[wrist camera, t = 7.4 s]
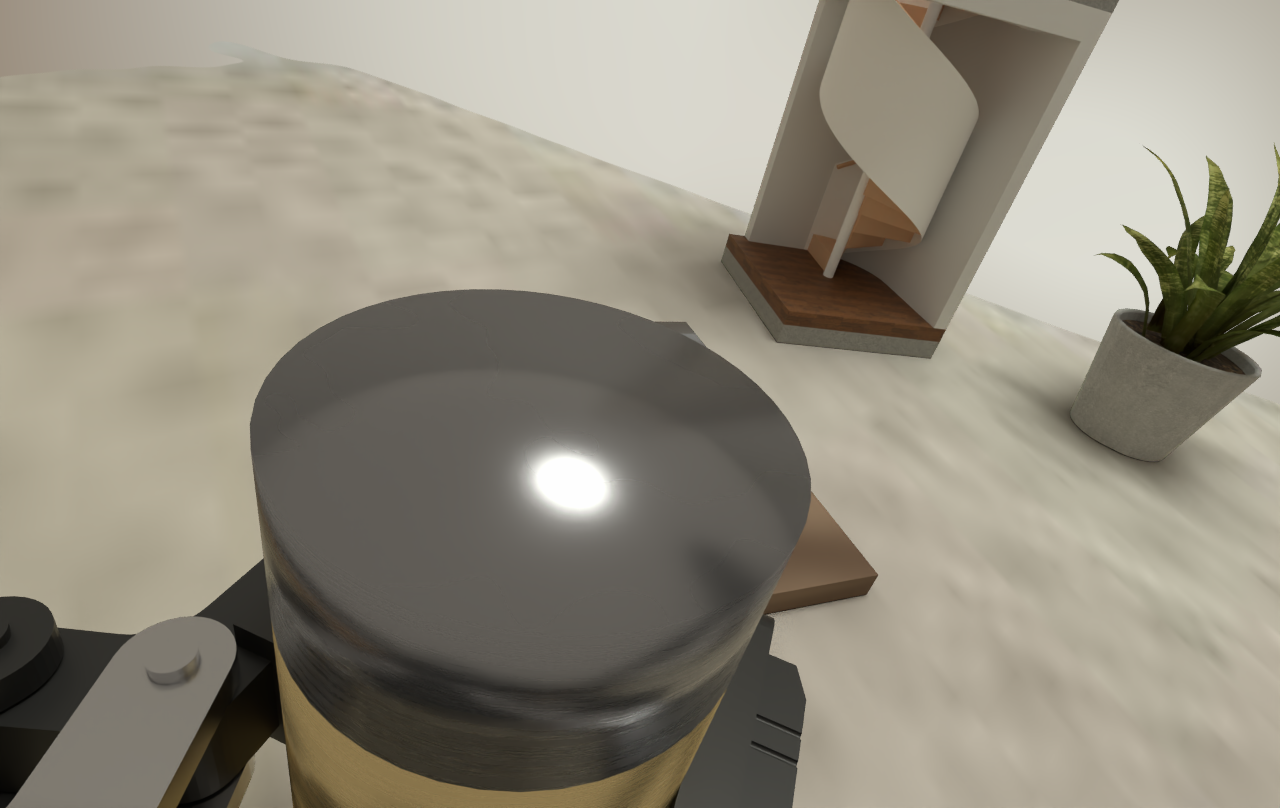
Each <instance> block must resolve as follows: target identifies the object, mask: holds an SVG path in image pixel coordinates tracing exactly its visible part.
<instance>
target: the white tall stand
mask: <svg viewBox="0 0 1280 808" xmlns="http://www.w3.org/2000/svg"><path fill="white" fill-rule="evenodd" d="M1118 1H1119V0H819V3H818V6H817V9H816V12H815V15H814V19H813V22H812V25H811V28H810V31H809V34H808V38H807V41H806V44H805V47H804V50H803V54H802V57H801V60H800V63H799V66H798V69H797V73H796V76H795V79H794V82H793V85H792V88H791V91H790V95H789V98H788V101H787V104H786V108H785V111H784V114H783V117H782V120H781V123H780V127H779V130H778V133H777V136H776V139H775V142H774V145H773V148H772V152H771V155H770V158H769V161H768V164H767V168H766V171H765V174H764V177H763V180H762V183H761V186H760V190H759V193H758V196H757V199H756V202H755V205H754V209H753V212H752V215H751V218H750V221H749V224H748V228H747V231H746V234H745V236H740V235H733V234H729V237H728V240H727V244H726V247H725V250H724V254H723V257H722V260H721V262H722V263H723V264H724V266H725V267H726V269H727V270H728V272H729V273H730V275H731V276H732V277H733V279H734V280H735V282H736V283H737V285H738V286H739V288H740V289H741V291H742V292H743V293H744V295H745V296H746V298H747V299H748V301H749V302H750V304H751V305H752V306H753V308H754V309H755V311H756V312H757V314H758V315H759V317H760V318H761V320H762V321H763V322H764V324H765V325H766V327H767V328H768V330H769V331H770V333H771V334H772V335H773V337H774V338H775V340H776V341H777V342H780V343H789V344H799V345H808V346H818V347H828V348H837V349H847V350H857V351H866V352H876V353H885V354H895V355H905V356H914V357H924V358H931V357H932V355H933V353H934V351H935V350H936V348H937V346H938V344H939V342H940V340H941V338H942V336H943V334H944V332H945V331H946V329H947V327H948V325H949V323H950V321H951V319H952V317H953V315H954V313H955V311H956V310H957V308H958V306H959V304H960V302H961V300H962V298H963V296H964V294H965V292H966V291H967V289H968V287H969V285H970V283H971V281H972V279H973V277H974V275H975V273H976V271H977V270H978V268H979V266H980V264H981V262H982V260H983V258H984V256H985V254H986V252H987V251H988V249H989V247H990V245H991V243H992V241H993V239H994V237H995V235H996V233H997V231H998V230H999V228H1000V226H1001V224H1002V222H1003V220H1004V218H1005V216H1006V214H1007V213H1008V210H1009V209H1010V207H1011V205H1012V203H1013V201H1014V199H1015V197H1016V195H1017V193H1018V192H1019V190H1020V188H1021V186H1022V184H1023V182H1024V180H1025V178H1026V176H1027V174H1028V172H1029V171H1030V169H1031V167H1032V165H1033V163H1034V161H1035V159H1036V157H1037V155H1038V153H1039V152H1040V150H1041V148H1042V146H1043V144H1044V142H1045V140H1046V138H1047V136H1048V134H1049V132H1050V130H1051V129H1052V127H1053V125H1054V123H1055V121H1056V119H1057V117H1058V115H1059V114H1060V112H1061V110H1062V108H1063V106H1064V104H1065V102H1066V100H1067V98H1068V96H1069V94H1070V93H1071V91H1072V89H1073V87H1074V85H1075V83H1076V81H1077V79H1078V77H1079V75H1080V74H1081V72H1082V70H1083V68H1084V66H1085V64H1086V62H1087V60H1088V58H1089V56H1090V55H1091V53H1092V51H1093V49H1094V47H1095V45H1096V43H1097V41H1098V39H1099V37H1100V35H1101V34H1102V32H1103V30H1104V28H1105V26H1106V24H1107V22H1108V20H1109V18H1110V16H1111V14H1112V13H1113V11H1114V9H1115V7H1116V5H1117V3H1118Z"/></svg>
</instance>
